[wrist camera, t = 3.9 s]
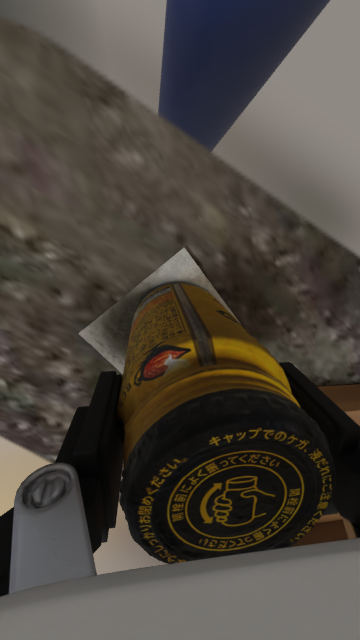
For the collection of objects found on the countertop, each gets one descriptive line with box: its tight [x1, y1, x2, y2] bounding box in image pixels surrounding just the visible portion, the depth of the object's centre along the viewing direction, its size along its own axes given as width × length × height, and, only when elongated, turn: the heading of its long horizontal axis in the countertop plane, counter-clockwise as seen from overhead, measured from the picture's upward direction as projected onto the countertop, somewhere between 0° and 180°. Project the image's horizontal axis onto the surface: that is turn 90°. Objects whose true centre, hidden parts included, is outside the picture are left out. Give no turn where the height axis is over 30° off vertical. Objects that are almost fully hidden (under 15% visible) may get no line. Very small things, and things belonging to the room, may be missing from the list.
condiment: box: [79, 248, 335, 564], centre depth 11 cm, size 7×8×12 cm
